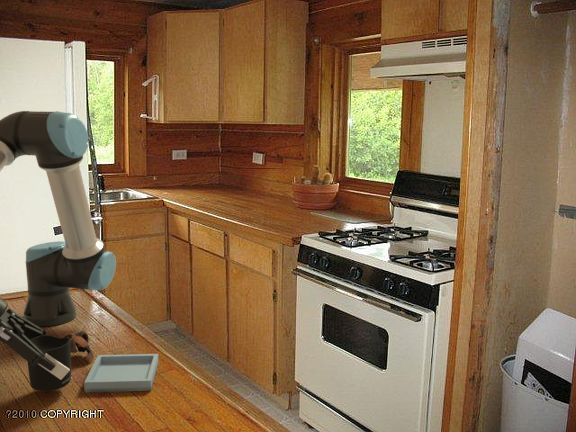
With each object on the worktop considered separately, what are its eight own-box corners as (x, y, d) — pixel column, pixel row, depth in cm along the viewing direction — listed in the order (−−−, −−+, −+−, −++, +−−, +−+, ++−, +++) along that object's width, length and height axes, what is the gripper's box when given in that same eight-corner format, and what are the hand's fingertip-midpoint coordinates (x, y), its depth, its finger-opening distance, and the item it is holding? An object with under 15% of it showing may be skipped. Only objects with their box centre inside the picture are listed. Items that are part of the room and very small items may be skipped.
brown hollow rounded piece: (89, 371, 150) (70, 346, 147) (59, 383, 152) (39, 359, 149) (105, 341, 161) (87, 318, 158) (76, 353, 163) (58, 330, 160)
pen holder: (34, 397, 131) (31, 354, 129) (24, 380, 138) (21, 339, 136) (78, 385, 136) (75, 344, 134) (66, 370, 144) (63, 330, 142)
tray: (98, 364, 152) (98, 355, 152) (158, 362, 154) (158, 353, 153) (84, 392, 138) (84, 382, 137) (151, 390, 139) (150, 380, 139)
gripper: (-26, 303, 138) (52, 357, 147) (-38, 340, 118) (53, 400, 127) (-3, 279, 139) (74, 334, 148) (-11, 311, 119) (78, 373, 128)
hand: (64, 364), depth 138 cm, fingers closed on pen holder, 9 cm apart
